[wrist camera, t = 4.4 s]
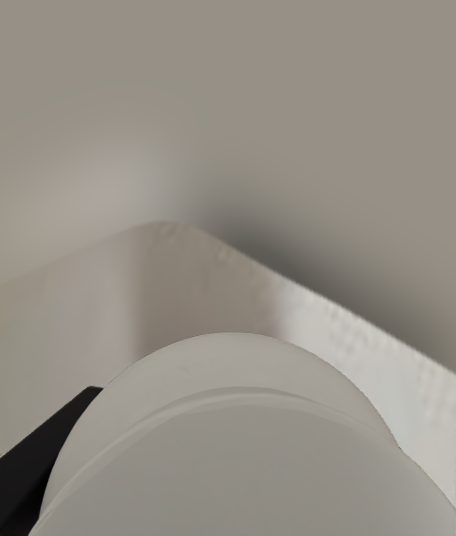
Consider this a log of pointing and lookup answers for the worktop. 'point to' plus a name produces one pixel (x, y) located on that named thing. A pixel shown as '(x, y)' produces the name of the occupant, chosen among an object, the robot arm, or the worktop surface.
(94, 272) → the worktop surface
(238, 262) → the worktop surface
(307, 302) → the worktop surface
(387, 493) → the supplement bottle
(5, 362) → the worktop surface
